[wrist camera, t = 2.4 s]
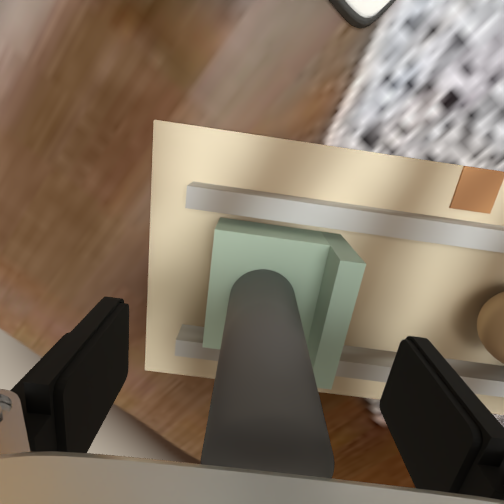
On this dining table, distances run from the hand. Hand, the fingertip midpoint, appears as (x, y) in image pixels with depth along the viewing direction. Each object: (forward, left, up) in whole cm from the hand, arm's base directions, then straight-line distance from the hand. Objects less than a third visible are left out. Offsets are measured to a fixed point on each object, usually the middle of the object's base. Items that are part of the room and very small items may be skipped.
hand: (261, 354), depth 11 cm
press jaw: (-1, 0, -6) cm, 6 cm away
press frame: (-6, 0, -8) cm, 10 cm away
